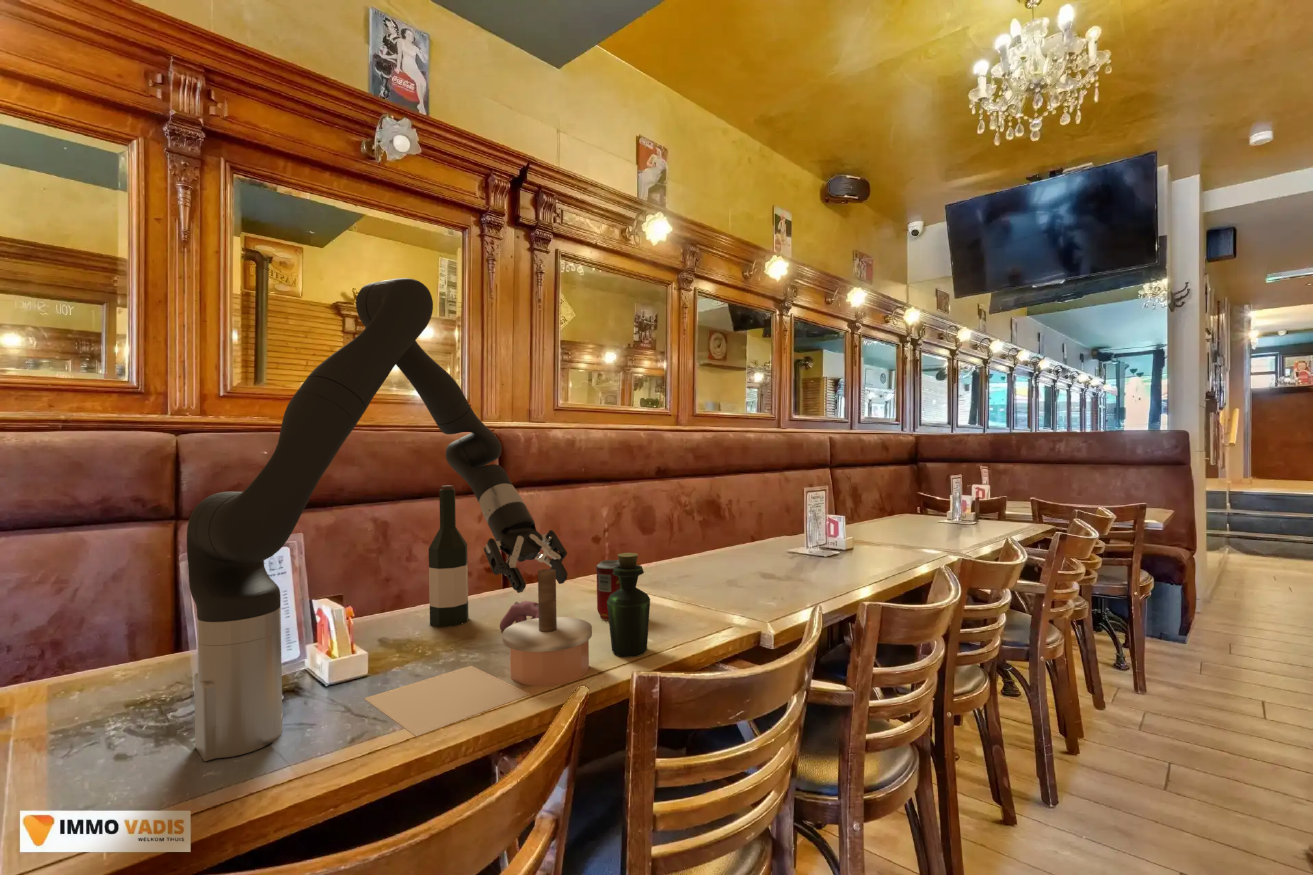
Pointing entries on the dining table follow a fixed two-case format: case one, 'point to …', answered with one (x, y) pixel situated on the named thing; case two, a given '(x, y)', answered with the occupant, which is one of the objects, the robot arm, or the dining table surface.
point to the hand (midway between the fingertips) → (543, 585)
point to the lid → (547, 624)
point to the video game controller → (519, 613)
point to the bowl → (549, 665)
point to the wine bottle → (448, 567)
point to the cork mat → (444, 699)
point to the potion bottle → (628, 610)
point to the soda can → (606, 585)
